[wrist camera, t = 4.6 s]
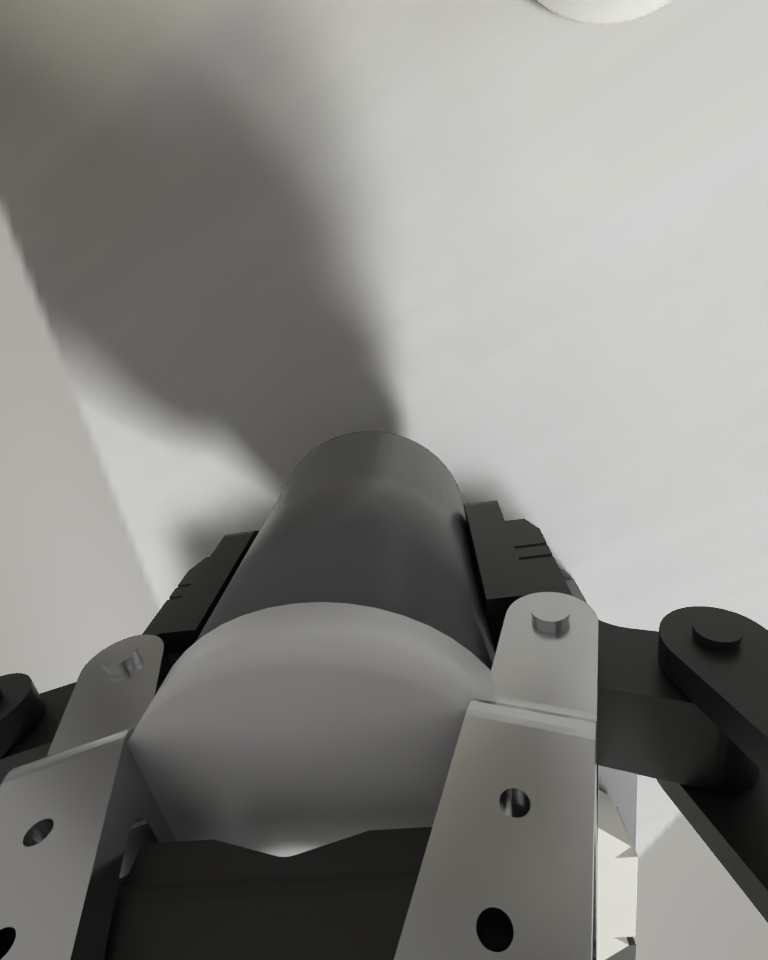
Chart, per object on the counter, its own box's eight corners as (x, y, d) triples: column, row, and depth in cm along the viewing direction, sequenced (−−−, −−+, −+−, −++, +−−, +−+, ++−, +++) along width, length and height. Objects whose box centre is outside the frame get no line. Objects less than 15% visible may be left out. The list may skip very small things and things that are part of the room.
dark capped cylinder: (310, 397, 12) (156, 599, 5) (499, 468, 13) (626, 753, 5) (258, 562, 14) (89, 888, 7) (424, 618, 14) (438, 981, 7)
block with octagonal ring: (281, 612, 17) (215, 788, 11) (573, 578, 17) (670, 750, 10) (346, 838, 22) (324, 1052, 16) (581, 821, 21) (653, 1042, 15)
